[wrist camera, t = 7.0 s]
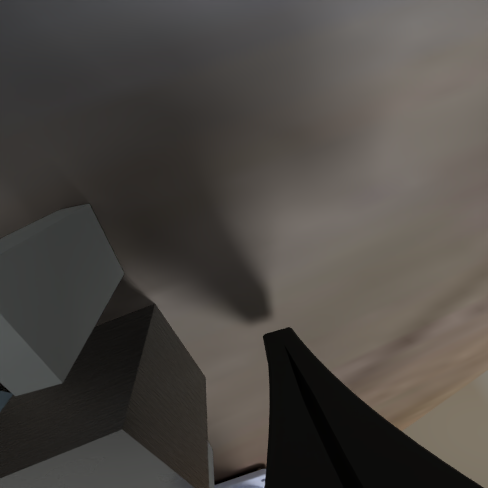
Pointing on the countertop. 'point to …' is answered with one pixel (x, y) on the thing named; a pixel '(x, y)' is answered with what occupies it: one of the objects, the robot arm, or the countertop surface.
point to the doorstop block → (113, 415)
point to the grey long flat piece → (54, 298)
